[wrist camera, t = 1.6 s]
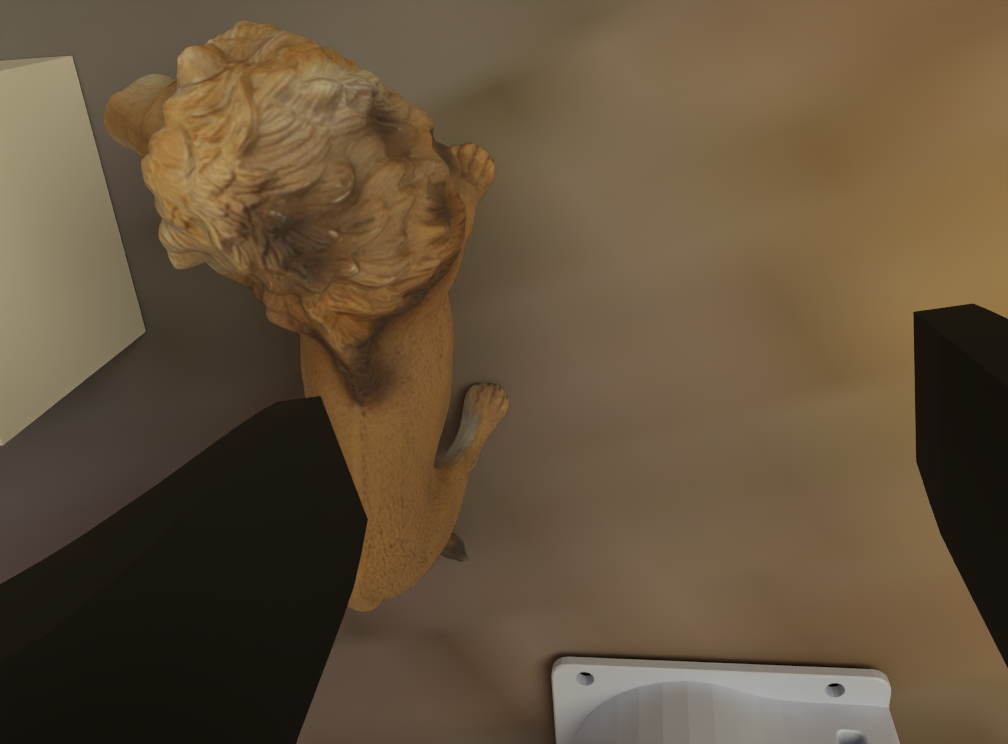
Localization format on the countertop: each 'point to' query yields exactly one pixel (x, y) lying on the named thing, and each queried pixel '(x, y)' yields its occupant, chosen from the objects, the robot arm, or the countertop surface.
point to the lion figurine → (331, 258)
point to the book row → (55, 245)
